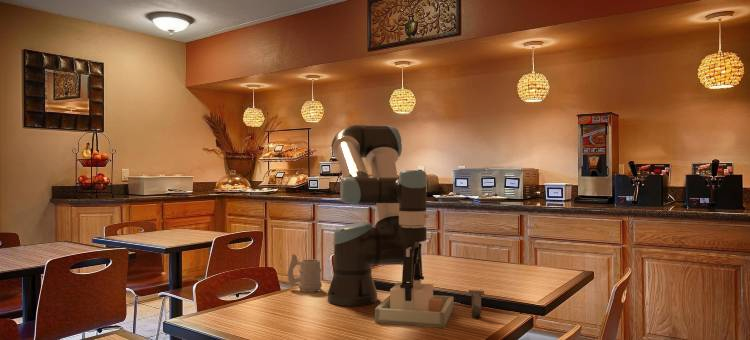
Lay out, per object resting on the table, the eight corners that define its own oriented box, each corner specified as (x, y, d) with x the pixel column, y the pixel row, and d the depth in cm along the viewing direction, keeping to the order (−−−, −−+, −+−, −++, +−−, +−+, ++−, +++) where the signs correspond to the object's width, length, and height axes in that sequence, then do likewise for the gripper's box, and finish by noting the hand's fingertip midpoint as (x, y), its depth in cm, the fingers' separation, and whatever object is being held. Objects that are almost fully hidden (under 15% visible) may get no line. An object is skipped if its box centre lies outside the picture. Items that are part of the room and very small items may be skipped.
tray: (374, 322, 135) (374, 308, 135) (392, 304, 155) (392, 292, 155) (444, 327, 131) (444, 313, 131) (453, 308, 150) (453, 296, 150)
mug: (318, 293, 170) (318, 256, 170) (283, 291, 172) (283, 255, 172) (324, 288, 178) (324, 253, 178) (291, 287, 180) (291, 252, 180)
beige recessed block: (390, 312, 139) (390, 289, 140) (398, 303, 149) (398, 282, 149) (438, 315, 136) (438, 292, 136) (443, 306, 146) (443, 284, 146)
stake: (468, 318, 140) (468, 291, 140) (469, 315, 142) (469, 289, 142) (483, 319, 139) (483, 292, 139) (484, 316, 141) (484, 290, 141)
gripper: (418, 230, 131) (418, 319, 131) (432, 223, 153) (432, 299, 153) (389, 229, 133) (389, 317, 133) (407, 222, 155) (407, 297, 155)
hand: (412, 307), depth 143 cm, fingers open, 10 cm apart
